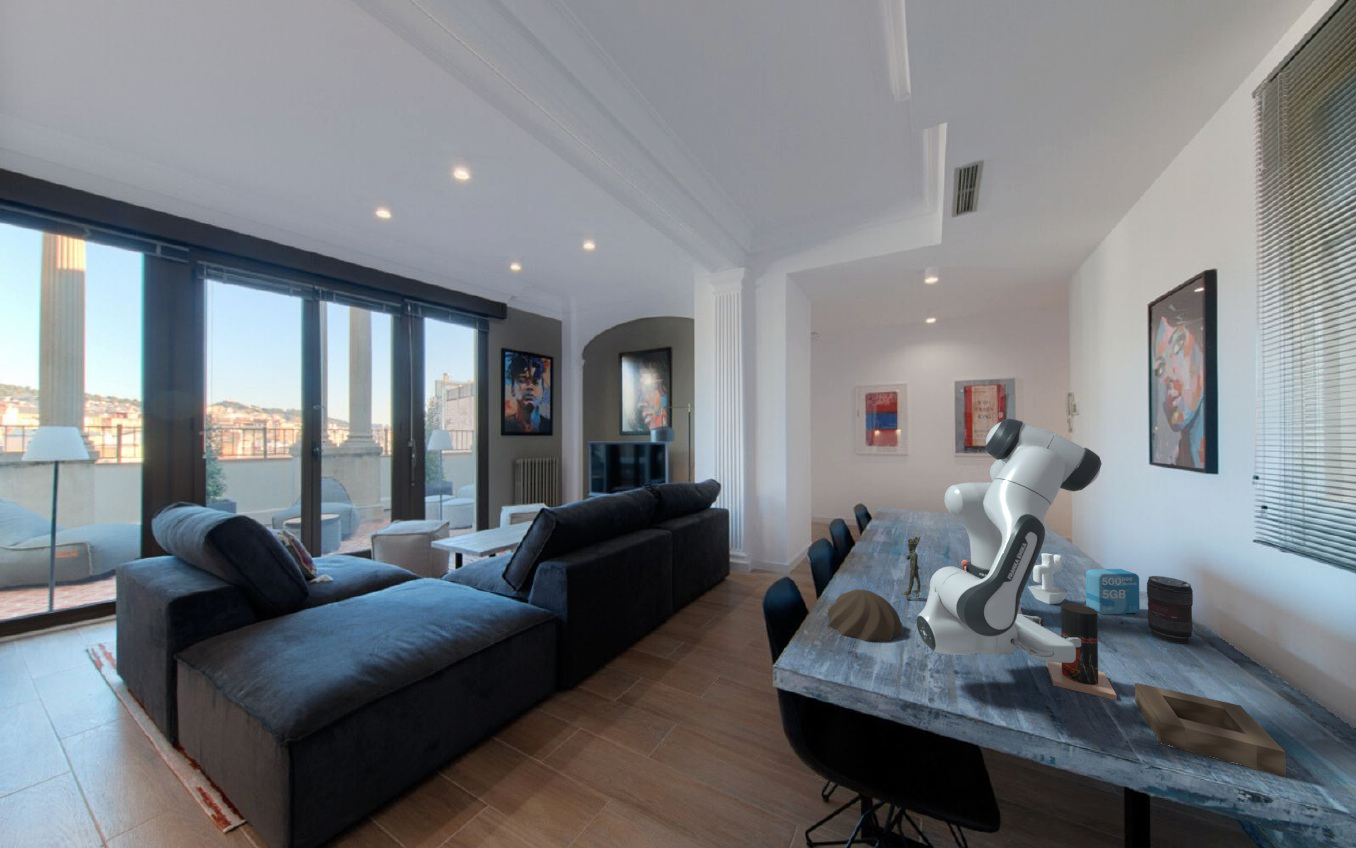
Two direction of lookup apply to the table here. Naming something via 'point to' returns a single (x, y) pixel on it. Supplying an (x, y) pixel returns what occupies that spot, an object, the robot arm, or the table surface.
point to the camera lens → (1170, 608)
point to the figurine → (1047, 580)
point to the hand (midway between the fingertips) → (1058, 631)
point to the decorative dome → (864, 616)
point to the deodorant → (1084, 627)
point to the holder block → (1209, 728)
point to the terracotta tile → (1098, 689)
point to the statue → (913, 567)
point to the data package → (1112, 591)
